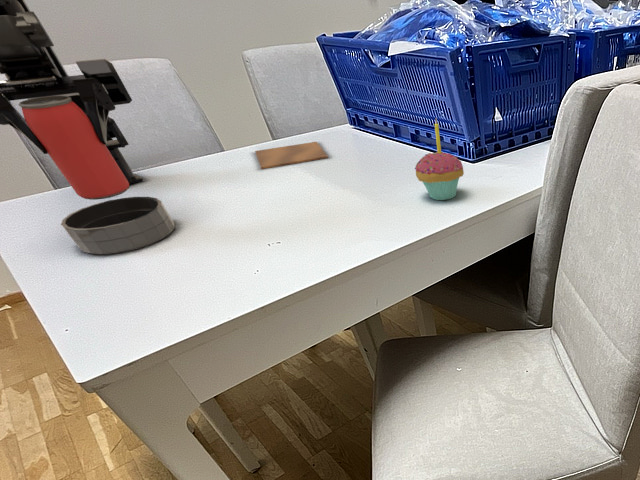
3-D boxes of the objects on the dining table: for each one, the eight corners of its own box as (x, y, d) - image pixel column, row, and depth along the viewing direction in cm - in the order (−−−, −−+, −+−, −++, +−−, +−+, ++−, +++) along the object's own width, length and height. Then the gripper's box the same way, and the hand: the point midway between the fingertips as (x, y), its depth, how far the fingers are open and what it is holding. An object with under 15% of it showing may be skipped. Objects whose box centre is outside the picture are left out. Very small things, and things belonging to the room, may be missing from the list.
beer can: (106, 202, 65) (41, 106, 57) (69, 200, 66) (-1, 105, 57) (142, 186, 70) (87, 95, 61) (106, 184, 71) (47, 94, 62)
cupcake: (428, 186, 86) (416, 114, 77) (471, 188, 85) (463, 115, 76) (414, 203, 80) (398, 127, 71) (460, 205, 79) (449, 128, 70)
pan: (70, 240, 72) (51, 215, 69) (158, 214, 79) (144, 190, 76) (95, 263, 65) (75, 237, 63) (188, 233, 72) (174, 208, 70)
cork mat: (261, 169, 96) (260, 167, 95) (255, 152, 105) (254, 151, 104) (328, 158, 100) (327, 156, 100) (317, 143, 109) (316, 141, 109)
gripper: (-140, -14, 50) (-61, 119, 51) (66, -20, 58) (129, 96, 59) (-62, 65, 60) (2, 174, 61) (105, 51, 68) (158, 147, 69)
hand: (74, 147), depth 62 cm, fingers closed on beer can, 6 cm apart
